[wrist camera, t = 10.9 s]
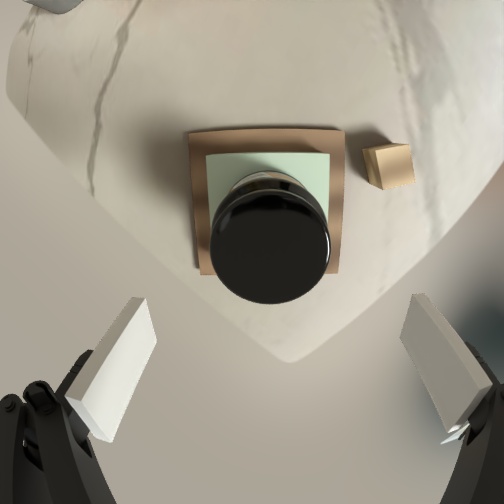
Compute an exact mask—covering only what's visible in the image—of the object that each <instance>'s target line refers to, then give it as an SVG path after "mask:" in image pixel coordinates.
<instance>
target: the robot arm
mask: <svg viewBox="0 0 504 504" xmlns="http://www.w3.org/2000/svg"><path fill="white" fill-rule="evenodd" d="M400 339H401V341H402V343H403V344H404V346H405V348H406V350H407V352H408V354H409V355H410V357H411V359H412V361H413V363H414V365H415V367H416V369H417V371H418V372H419V374H420V376H421V378H422V380H423V382H424V384H425V386H426V388H427V390H428V392H429V394H430V396H431V398H432V401H433V403H434V405H435V407H436V409H437V411H438V413H439V416H440V418H441V420H442V422H443V424H444V427H445V429H446V431H447V433H449V432H452V431H454V430H457V429H459V428H461V427H462V426H463V424H464V423H465V422H466V421H467V419H468V421H469V423H470V425H469V426H468V427H467V428H466V429H465V431H464V432H463V433H462V434H461V435H460V437H459V438H458V440H460V439H461V438H462V437H463V436H464V435H465V437H464V440H463V444H462V447H461V450H460V453H459V457H458V460H457V462H456V465H455V468H454V471H453V473H452V476H451V479H450V481H449V484H448V486H447V488H446V491H445V493H444V495H443V498H442V500H441V502H440V504H504V384H500V383H499V381H498V380H497V378H496V377H495V375H494V374H493V372H492V371H491V369H490V368H489V367H488V365H487V364H486V363H485V361H484V360H483V358H482V357H480V354H479V353H478V351H477V350H476V349H475V347H473V346H472V345H471V344H469V343H468V342H463V341H462V339H461V338H460V337H459V335H458V334H457V333H456V332H455V330H454V329H453V328H452V326H450V324H449V323H448V322H447V320H446V319H445V318H444V317H443V315H442V314H441V313H440V311H439V310H438V309H437V308H436V307H435V305H434V304H433V303H432V302H431V301H430V300H429V298H428V297H427V296H426V295H425V294H424V293H422V294H412V298H411V301H410V305H409V308H408V312H407V316H406V319H405V322H404V325H403V329H402V332H401V335H400ZM156 342H157V340H156V336H155V333H154V329H153V326H152V322H151V318H150V314H149V310H148V306H147V302H146V298H135V297H132V298H131V300H130V301H129V302H128V303H127V305H126V306H125V307H124V309H123V310H122V312H121V313H120V314H119V316H118V317H117V318H116V320H115V321H114V322H113V324H112V325H111V327H110V328H109V329H108V331H107V332H106V334H105V335H104V337H103V338H102V339H101V341H100V342H99V344H98V345H97V347H96V348H95V350H87V351H86V352H85V353H83V354H82V355H81V356H80V357H79V358H78V360H77V361H76V362H75V364H74V366H73V367H72V368H71V370H70V372H69V373H68V374H67V375H66V377H65V379H64V380H63V381H62V383H61V384H60V386H59V388H58V389H57V391H56V392H55V393H54V391H53V390H52V388H51V387H50V386H49V384H48V383H47V382H45V381H41V380H40V381H35V382H33V383H31V384H29V385H28V386H27V387H26V389H25V390H24V392H23V398H24V400H25V401H26V402H27V403H23V402H22V400H21V399H20V398H19V396H17V395H16V394H8V395H6V396H5V397H3V398H2V400H1V401H0V504H116V501H115V499H114V497H113V495H112V494H111V491H110V489H109V487H108V485H107V483H106V480H105V478H104V476H103V474H102V471H101V469H100V466H99V464H98V461H97V459H96V456H95V453H94V451H93V448H92V445H91V442H90V440H89V438H88V437H87V435H88V433H89V431H91V432H92V434H93V435H94V436H95V437H96V438H98V439H101V440H104V441H107V442H110V443H111V442H112V441H113V438H114V436H115V433H116V431H117V429H118V426H119V424H120V421H121V419H122V417H123V415H124V412H125V410H126V408H127V405H128V403H129V401H130V398H131V396H132V394H133V391H134V390H135V387H136V385H137V383H138V381H139V379H140V376H141V374H142V372H143V370H144V368H145V365H146V363H147V361H148V358H149V357H150V355H151V353H152V351H153V349H154V347H155V344H156ZM23 440H24V446H23Z"/></svg>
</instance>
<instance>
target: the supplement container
mask: <svg viewBox="0 0 504 504" xmlns="http://www.w3.org/2000/svg"><path fill="white" fill-rule="evenodd" d="M209 251H210V259H211V263H212V266H213V268H214V271H215V273H216V274H217V276H218V278H219V279H220V280H221V282H222V283H223V284H224V285H225V286H226V287H227V288H228V289H229V290H230V291H231V292H233V293H234V294H236V295H237V296H239V297H241V298H243V299H245V300H248V301H251V302H254V303H259V304H281V303H285V302H289V301H292V300H295V299H297V298H299V297H301V296H303V295H304V294H306V293H307V292H309V291H310V290H311V289H312V288H313V287H314V286H315V285H316V284H317V283H318V282H319V281H320V279H321V278H322V276H323V275H324V273H325V271H326V269H327V267H328V264H329V261H330V256H331V238H330V233H329V230H328V223H327V219H326V216H325V213H324V211H323V209H322V207H321V205H320V204H319V202H318V201H317V200H316V198H315V197H314V196H313V195H312V194H311V193H310V192H309V191H307V189H306V188H305V187H304V186H303V184H302V183H301V182H299V181H298V180H297V179H295V178H294V177H292V176H290V175H288V174H286V173H283V172H280V171H274V170H263V171H258V172H254V173H251V174H249V175H247V176H245V177H243V178H242V179H240V180H239V181H238V182H237V183H236V184H235V185H234V186H233V187H232V188H231V190H230V191H229V193H228V194H227V196H226V197H225V198H224V199H223V200H222V202H221V203H220V204H219V206H218V208H217V210H216V212H215V214H214V217H213V220H212V225H211V237H210V245H209Z"/></svg>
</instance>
